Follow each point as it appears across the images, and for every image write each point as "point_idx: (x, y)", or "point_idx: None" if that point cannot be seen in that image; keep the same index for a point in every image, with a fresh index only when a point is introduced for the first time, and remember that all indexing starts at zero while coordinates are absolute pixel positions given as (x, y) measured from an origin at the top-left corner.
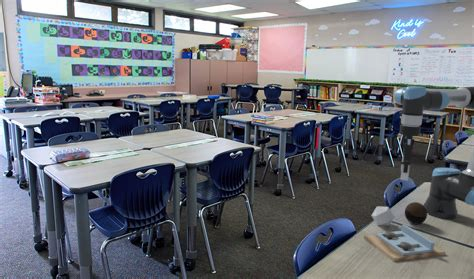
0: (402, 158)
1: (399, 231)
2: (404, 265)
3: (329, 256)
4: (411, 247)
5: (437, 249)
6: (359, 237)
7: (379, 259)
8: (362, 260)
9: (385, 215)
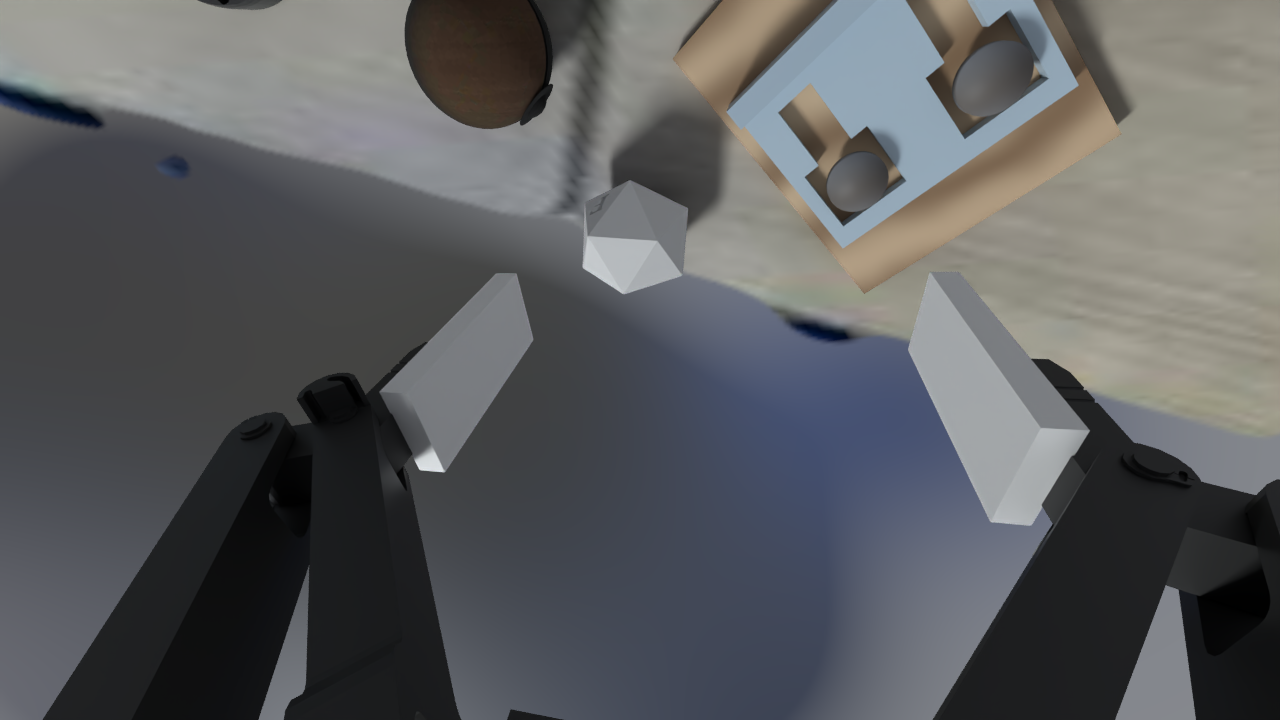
0: (462, 443)
1: (756, 131)
2: (1157, 63)
3: (1104, 393)
4: (931, 40)
5: None
6: (858, 304)
7: (1097, 201)
8: (1124, 274)
9: (672, 234)
